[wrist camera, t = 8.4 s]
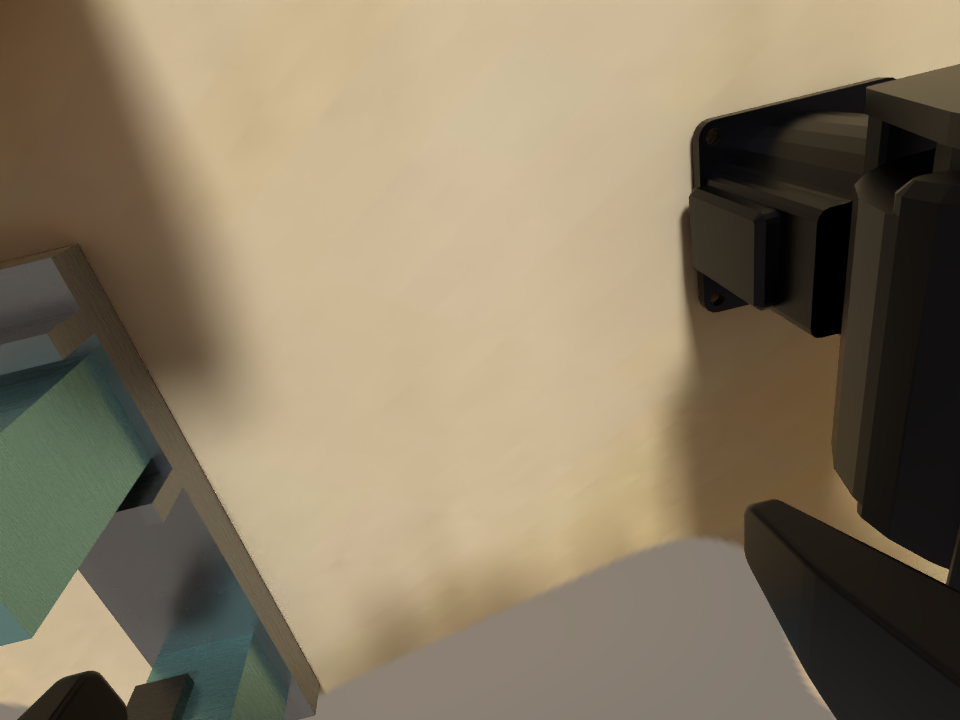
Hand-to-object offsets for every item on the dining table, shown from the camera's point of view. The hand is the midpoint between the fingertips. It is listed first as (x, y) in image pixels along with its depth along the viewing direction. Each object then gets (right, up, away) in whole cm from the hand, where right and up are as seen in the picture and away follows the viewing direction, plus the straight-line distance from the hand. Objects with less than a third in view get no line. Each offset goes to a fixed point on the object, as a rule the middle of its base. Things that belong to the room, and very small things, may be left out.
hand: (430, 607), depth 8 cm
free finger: (-13, +1, +11) cm, 17 cm away
